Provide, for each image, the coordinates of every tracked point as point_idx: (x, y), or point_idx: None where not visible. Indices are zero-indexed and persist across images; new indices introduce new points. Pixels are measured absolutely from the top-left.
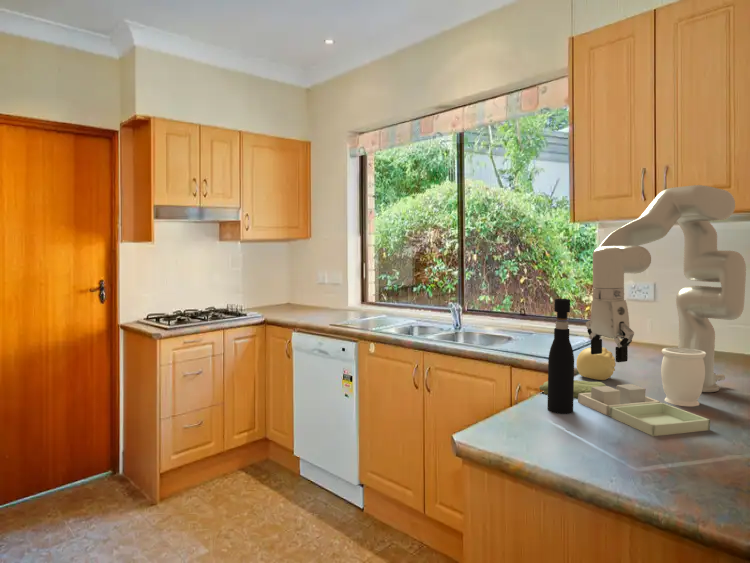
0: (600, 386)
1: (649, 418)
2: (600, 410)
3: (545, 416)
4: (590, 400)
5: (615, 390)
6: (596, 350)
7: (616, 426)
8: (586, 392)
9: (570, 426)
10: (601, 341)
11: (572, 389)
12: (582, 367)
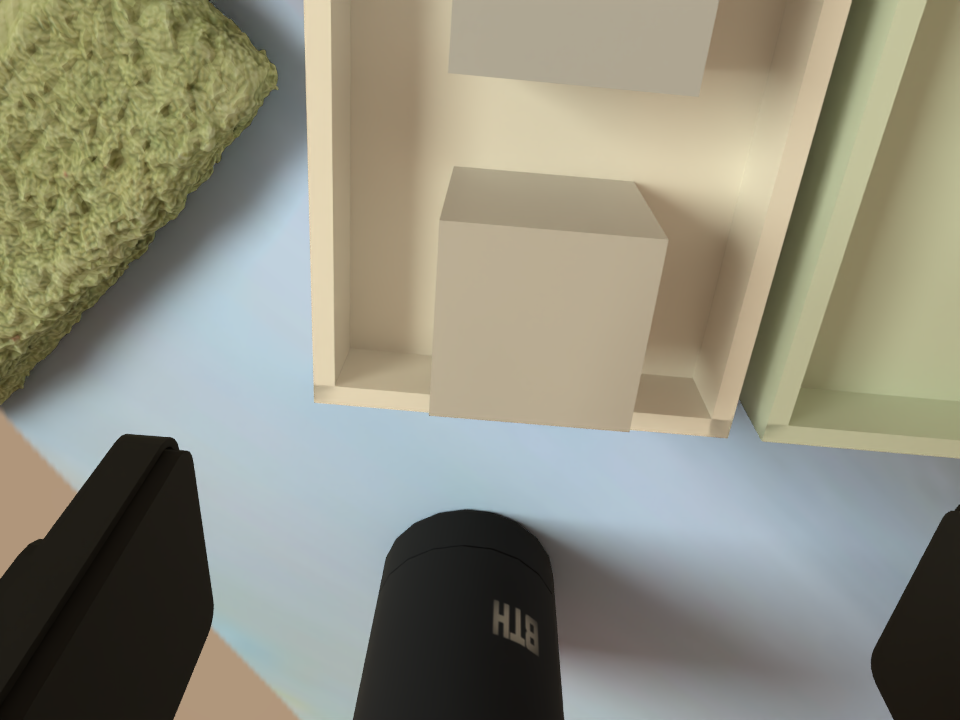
0: (435, 311)
1: (952, 135)
2: None
3: None
4: None
5: (635, 280)
6: (177, 614)
7: (861, 457)
8: (178, 194)
9: (708, 668)
10: (35, 715)
11: (554, 706)
12: None
